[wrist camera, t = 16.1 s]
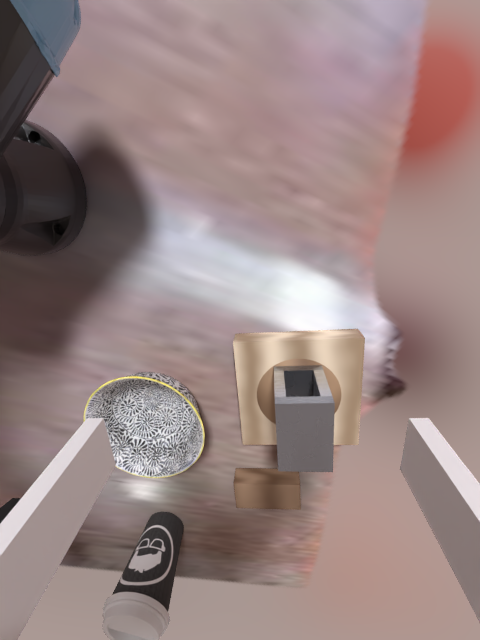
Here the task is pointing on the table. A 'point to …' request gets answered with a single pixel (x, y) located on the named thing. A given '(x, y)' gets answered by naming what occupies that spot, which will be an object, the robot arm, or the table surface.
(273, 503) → the stand
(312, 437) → the housing
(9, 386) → the table surface
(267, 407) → the plate
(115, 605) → the coffee cup
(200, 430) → the bowl
